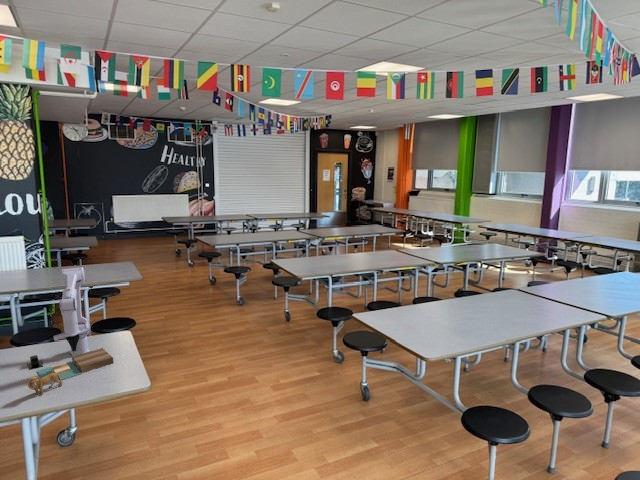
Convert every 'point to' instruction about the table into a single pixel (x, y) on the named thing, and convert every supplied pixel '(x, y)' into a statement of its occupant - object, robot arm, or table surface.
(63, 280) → the robot arm
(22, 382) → the table surface
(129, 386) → the table surface
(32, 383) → the lion figurine
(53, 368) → the beech tile
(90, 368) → the walnut board
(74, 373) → the teal mat
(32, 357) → the black slotted bracket
